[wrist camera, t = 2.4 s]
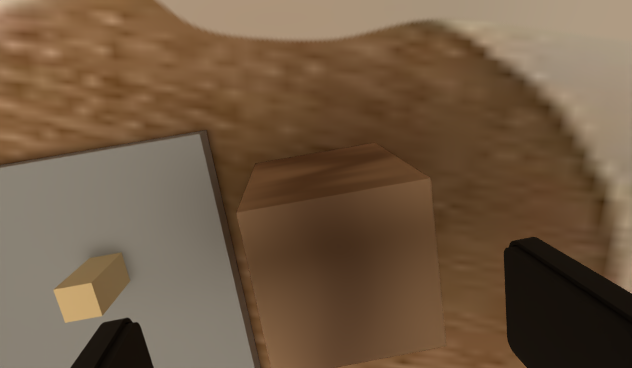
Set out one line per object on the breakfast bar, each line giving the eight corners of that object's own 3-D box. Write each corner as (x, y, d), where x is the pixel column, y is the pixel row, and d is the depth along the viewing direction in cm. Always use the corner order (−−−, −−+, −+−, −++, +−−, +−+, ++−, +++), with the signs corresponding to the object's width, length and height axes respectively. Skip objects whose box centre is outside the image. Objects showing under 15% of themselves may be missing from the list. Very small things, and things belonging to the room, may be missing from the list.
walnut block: (374, 142, 20) (430, 178, 12) (388, 252, 21) (446, 346, 14) (255, 163, 20) (236, 212, 12) (278, 272, 21) (273, 379, 14)
